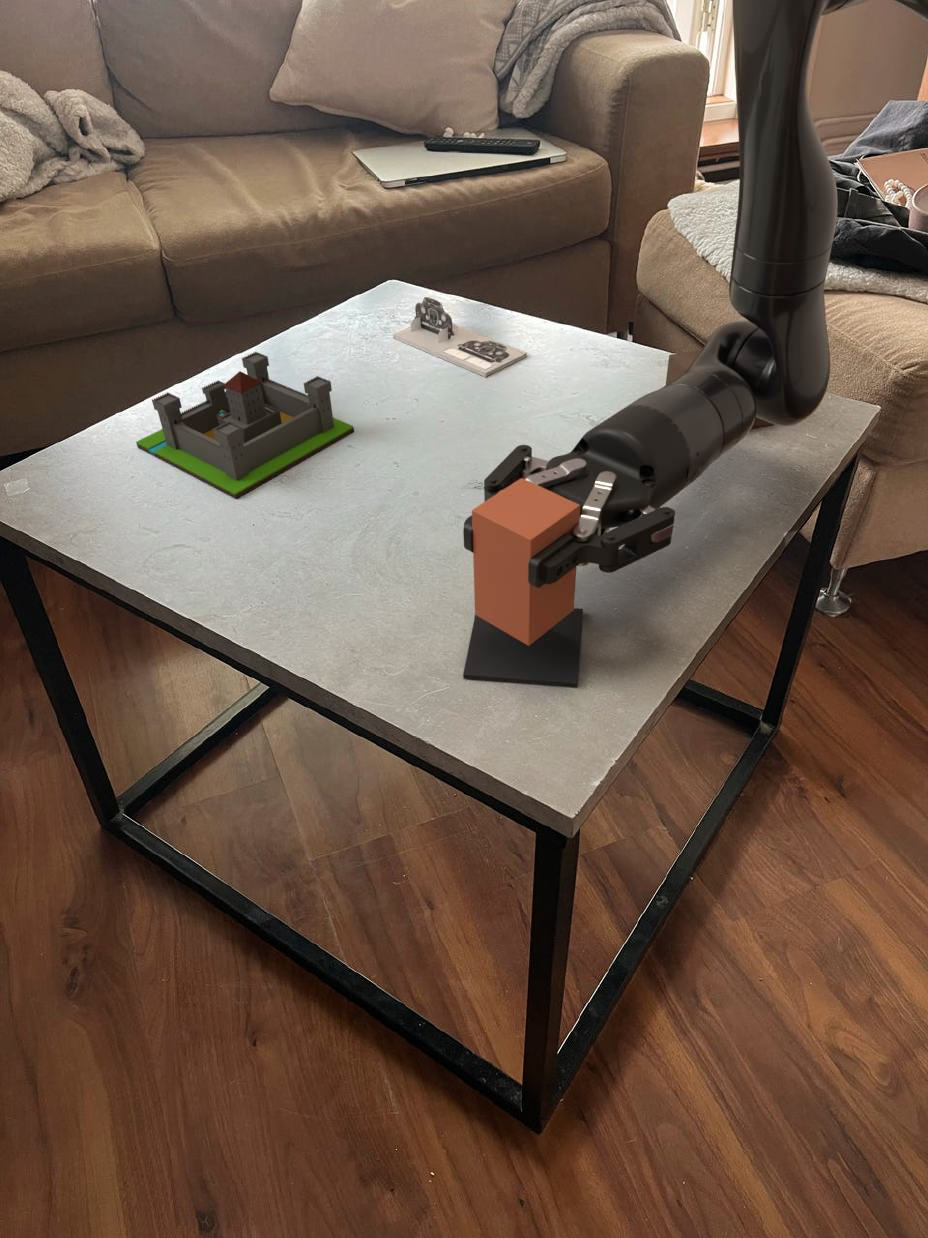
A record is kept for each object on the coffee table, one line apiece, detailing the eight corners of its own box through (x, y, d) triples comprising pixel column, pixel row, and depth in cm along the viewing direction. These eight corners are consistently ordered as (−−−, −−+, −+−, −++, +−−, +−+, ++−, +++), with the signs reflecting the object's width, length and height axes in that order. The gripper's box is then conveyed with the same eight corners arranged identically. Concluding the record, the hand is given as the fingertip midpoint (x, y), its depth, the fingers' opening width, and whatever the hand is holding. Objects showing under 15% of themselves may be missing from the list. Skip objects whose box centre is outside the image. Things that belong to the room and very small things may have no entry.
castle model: (236, 498, 83) (219, 425, 78) (137, 447, 91) (116, 376, 86) (354, 431, 92) (345, 361, 87) (255, 389, 99) (242, 322, 94)
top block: (520, 581, 68) (521, 477, 62) (574, 610, 66) (580, 504, 60) (474, 614, 66) (471, 509, 60) (528, 646, 63) (531, 539, 57)
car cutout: (393, 337, 108) (389, 300, 105) (434, 320, 111) (432, 282, 108) (485, 377, 100) (484, 337, 97) (526, 356, 103) (527, 317, 100)
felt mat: (582, 612, 70) (582, 608, 70) (577, 687, 64) (577, 683, 64) (477, 605, 71) (477, 601, 71) (463, 678, 65) (463, 674, 65)
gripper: (575, 376, 70) (417, 469, 61) (744, 439, 63) (591, 555, 54) (571, 461, 75) (424, 559, 66) (726, 529, 68) (584, 649, 59)
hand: (500, 556), depth 60 cm, fingers closed on top block, 5 cm apart
